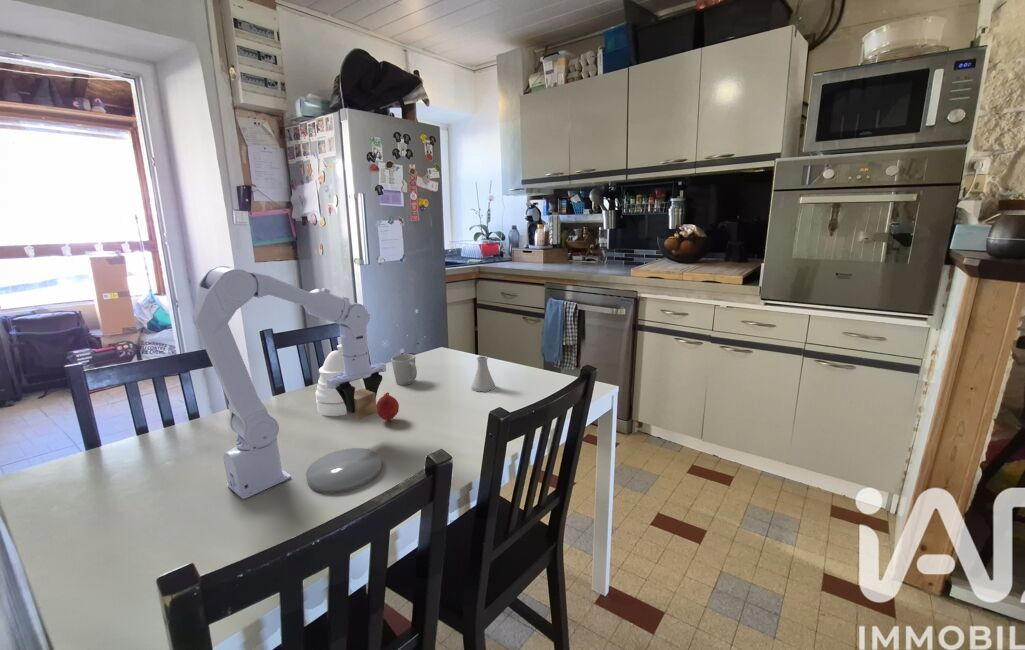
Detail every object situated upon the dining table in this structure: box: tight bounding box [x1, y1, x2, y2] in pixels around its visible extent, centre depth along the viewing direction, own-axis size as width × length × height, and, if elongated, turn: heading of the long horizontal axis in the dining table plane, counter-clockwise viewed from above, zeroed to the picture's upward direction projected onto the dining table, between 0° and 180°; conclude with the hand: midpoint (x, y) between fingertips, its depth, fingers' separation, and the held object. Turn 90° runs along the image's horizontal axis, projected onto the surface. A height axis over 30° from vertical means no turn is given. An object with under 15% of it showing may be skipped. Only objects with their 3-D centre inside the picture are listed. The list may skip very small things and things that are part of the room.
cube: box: [346, 388, 377, 420], centre depth 109 cm, size 5×5×5 cm
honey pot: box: [314, 344, 364, 417], centre depth 129 cm, size 13×13×18 cm
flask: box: [470, 355, 496, 393], centre depth 142 cm, size 7×7×10 cm
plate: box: [305, 447, 383, 494], centre depth 98 cm, size 15×15×2 cm
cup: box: [390, 353, 418, 386], centre depth 147 cm, size 8×10×8 cm
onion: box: [376, 391, 400, 422], centre depth 121 cm, size 6×6×8 cm
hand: (361, 407), depth 110 cm, fingers closed on cube, 5 cm apart
